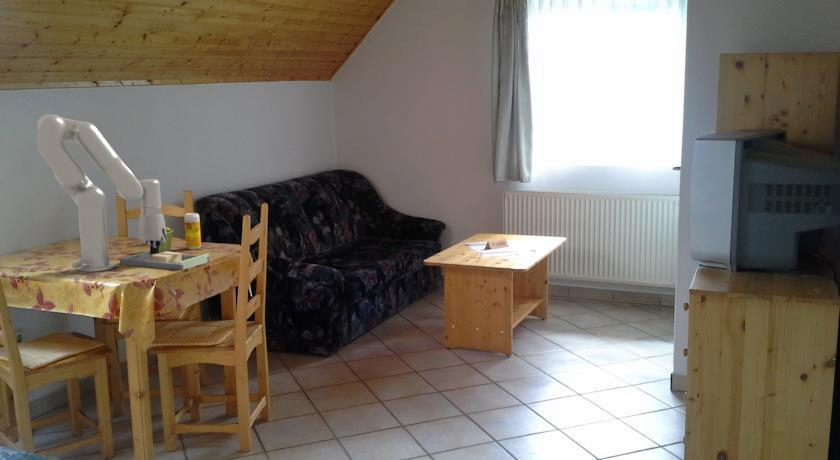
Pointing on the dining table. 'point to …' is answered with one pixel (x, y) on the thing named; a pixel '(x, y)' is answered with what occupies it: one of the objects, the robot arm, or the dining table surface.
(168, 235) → the plant pot
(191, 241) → the beer can
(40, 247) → the dining table surface
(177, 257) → the birch block
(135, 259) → the grey shallow tray
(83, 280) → the dining table surface
